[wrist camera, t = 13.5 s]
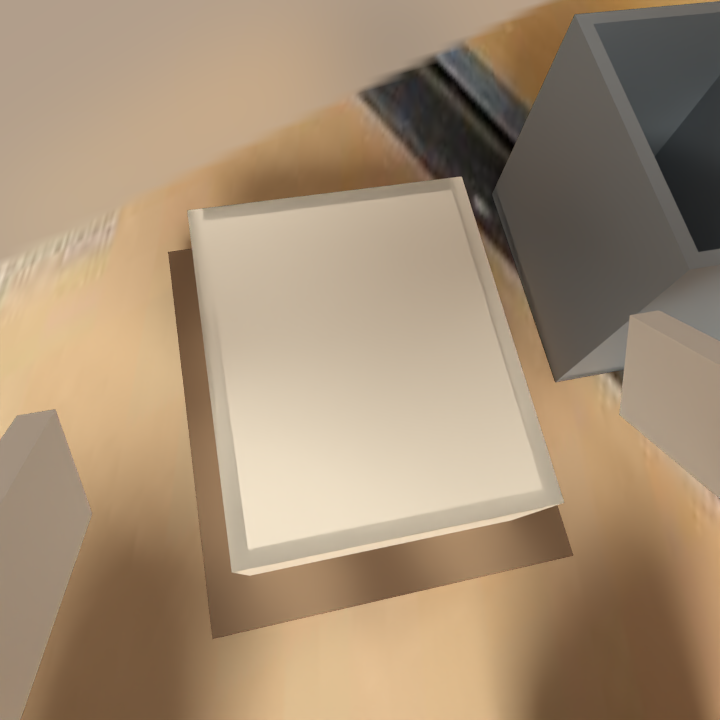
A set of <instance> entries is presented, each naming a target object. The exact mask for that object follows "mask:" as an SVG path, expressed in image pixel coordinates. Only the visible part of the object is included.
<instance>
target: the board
mask: <svg viewBox="0 0 720 720" xmlns="http://www.w3.org/2000/svg"><path fill="white" fill-rule="evenodd" d="M168 254H169V263H170V271H171V280H172V289H173V298H174V306H175V315H176V324H177V333H178V341H179V350H180V359H181V367H182V376H183V385H184V394H185V402H186V411H187V420H188V429H189V437H190V446H191V455H192V463H193V472H194V481H195V490H196V498H197V507H198V516H199V525H200V533H201V542H202V551H203V559H204V568H205V577H206V586H207V594H208V603H209V612H210V621H211V629H212V638H213V639H214V638H219V637H223V636H227V635H232V634H236V633H240V632H245V631H249V630H253V629H258V628H262V627H266V626H271V625H275V624H279V623H284V622H288V621H292V620H297V619H301V618H305V617H310V616H314V615H318V614H323V613H327V612H331V611H335V610H340V609H344V608H348V607H353V606H357V605H361V604H366V603H370V602H374V601H379V600H383V599H387V598H392V597H396V596H400V595H405V594H409V593H413V592H418V591H422V590H426V589H431V588H435V587H439V586H444V585H448V584H452V583H457V582H461V581H465V580H470V579H474V578H478V577H483V576H487V575H491V574H496V573H500V572H504V571H509V570H513V569H517V568H522V567H526V566H530V565H535V564H539V563H543V562H548V561H552V560H556V559H560V558H565V557H569V556H573V553H572V550H571V547H570V544H569V541H568V537H567V534H566V531H565V528H564V525H563V522H562V518H561V515H560V512H559V509H558V506H557V505H556V506H553V507H550V508H547V509H544V510H541V511H538V512H535V513H532V514H529V515H526V516H523V517H520V518H517V519H514V520H511V521H506V522H501V523H497V524H492V525H487V526H482V527H478V528H473V529H468V530H464V531H459V532H454V533H449V534H445V535H440V536H435V537H430V538H426V539H421V540H416V541H412V542H407V543H402V544H397V545H393V546H388V547H383V548H378V549H374V550H369V551H364V552H360V553H355V554H350V555H345V556H341V557H336V558H331V559H326V560H322V561H317V562H312V563H308V564H303V565H298V566H293V567H289V568H284V569H279V570H274V571H270V572H265V573H260V574H256V575H251V576H249V575H243V574H237V573H232V570H231V562H230V554H229V545H228V537H227V529H226V521H225V513H224V505H223V497H222V489H221V480H220V472H219V464H218V456H217V448H216V440H215V432H214V424H213V416H212V407H211V399H210V391H209V383H208V375H207V367H206V359H205V351H204V342H203V334H202V326H201V318H200V310H199V302H198V294H197V286H196V277H195V269H194V261H193V253H192V249H187V250H179V251H172V252H168Z"/></svg>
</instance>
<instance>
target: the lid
mask: <svg viewBox="0 0 720 720" xmlns="http://www.w3.org/2000/svg"><path fill="white" fill-rule="evenodd" d="M187 212H188V221H189V229H190V237H191V245H192V253H193V261H194V269H195V277H196V286H197V294H198V302H199V310H200V318H201V326H202V334H203V342H204V351H205V359H206V367H207V375H208V383H209V391H210V399H211V407H212V416H213V424H214V432H215V440H216V448H217V456H218V464H219V472H220V480H221V489H222V497H223V505H224V513H225V521H226V529H227V537H228V545H229V554H230V562H231V570H232V573H237V574H243V575H249V576H251V575H256V574H260V573H265V572H270V571H274V570H279V569H284V568H289V567H293V566H298V565H303V564H308V563H312V562H317V561H322V560H326V559H331V558H336V557H341V556H345V555H350V554H355V553H360V552H364V551H369V550H374V549H378V548H383V547H388V546H393V545H397V544H402V543H407V542H412V541H416V540H421V539H426V538H430V537H435V536H440V535H445V534H449V533H454V532H459V531H464V530H468V529H473V528H478V527H482V526H487V525H492V524H497V523H501V522H506V521H511V520H514V519H517V518H520V517H523V516H526V515H529V514H532V513H535V512H538V511H541V510H544V509H547V508H550V507H553V506H556V505H559V504H562V503H564V500H563V497H562V494H561V491H560V487H559V484H558V481H557V478H556V475H555V471H554V468H553V465H552V462H551V459H550V456H549V452H548V449H547V446H546V443H545V440H544V437H543V433H542V430H541V427H540V424H539V421H538V417H537V414H536V411H535V408H534V405H533V402H532V398H531V395H530V392H529V389H528V386H527V382H526V379H525V376H524V373H523V370H522V367H521V363H520V360H519V357H518V354H517V351H516V348H515V344H514V341H513V338H512V335H511V332H510V328H509V325H508V322H507V319H506V316H505V313H504V309H503V306H502V303H501V300H500V297H499V294H498V290H497V287H496V284H495V281H494V278H493V274H492V271H491V268H490V265H489V262H488V259H487V255H486V252H485V249H484V246H483V243H482V239H481V236H480V233H479V230H478V227H477V224H476V220H475V217H474V214H473V211H472V208H471V205H470V201H469V198H468V195H467V192H466V189H465V185H464V182H463V179H462V177H454V178H446V179H438V180H429V181H421V182H413V183H405V184H397V185H389V186H381V187H373V188H365V189H357V190H348V191H340V192H332V193H324V194H316V195H308V196H300V197H292V198H284V199H276V200H267V201H259V202H251V203H243V204H235V205H227V206H219V207H211V208H203V209H194V210H187Z"/></svg>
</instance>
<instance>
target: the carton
mask: <svg viewBox="0 0 720 720" xmlns="http://www.w3.org/2000/svg"><path fill="white" fill-rule="evenodd" d="M492 196H493V199H494V202H495V205H496V208H497V211H498V214H499V217H500V220H501V223H502V226H503V229H504V232H505V235H506V238H507V241H508V244H509V247H510V250H511V253H512V256H513V259H514V261H515V264H516V267H517V270H518V273H519V276H520V279H521V282H522V285H523V288H524V291H525V294H526V297H527V300H528V303H529V306H530V309H531V312H532V315H533V318H534V321H535V324H536V326H537V329H538V332H539V335H540V338H541V341H542V344H543V347H544V350H545V353H546V356H547V359H548V362H549V365H550V368H551V371H552V374H553V377H554V380H555V382H559V381H565V380H570V379H576V378H581V377H586V376H592V375H597V374H603V373H608V372H613V371H619V370H624V366H625V356H626V347H627V337H628V328H629V318H630V315H634V314H640V313H646V312H652V311H658V310H659V311H661V312H663V313H665V314H667V315H669V316H671V317H673V318H675V319H677V320H679V321H681V322H683V323H685V324H687V325H689V326H691V327H693V328H695V329H697V330H699V331H701V332H703V333H705V334H707V335H708V336H710V337H712V338H714V339H716V340H718V341H720V1H717V2H706V3H695V4H684V5H673V6H662V7H651V8H640V9H629V10H618V11H607V12H596V13H585V14H575V15H574V17H573V20H572V22H571V24H570V26H569V28H568V30H567V33H566V35H565V37H564V39H563V41H562V43H561V46H560V48H559V50H558V52H557V54H556V56H555V59H554V61H553V63H552V65H551V67H550V70H549V72H548V74H547V76H546V78H545V80H544V83H543V85H542V87H541V89H540V91H539V93H538V96H537V98H536V100H535V102H534V104H533V106H532V109H531V111H530V113H529V115H528V117H527V119H526V122H525V124H524V126H523V128H522V130H521V133H520V135H519V137H518V139H517V141H516V143H515V146H514V148H513V150H512V152H511V154H510V156H509V159H508V161H507V163H506V165H505V167H504V169H503V172H502V174H501V176H500V178H499V180H498V182H497V185H496V187H495V189H494V191H493V193H492Z"/></svg>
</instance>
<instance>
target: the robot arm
mask: <svg viewBox="0 0 720 720" xmlns="http://www.w3.org/2000/svg"><path fill="white" fill-rule="evenodd" d="M619 415H620V416H621V417H622V418H624V419H625V420H626V421H627V422H628V423H630V424H631V425H632V426H633V427H634V428H636V429H637V430H638V431H639V432H640V433H642V434H643V435H644V436H645V437H646V438H648V439H649V440H650V441H651V442H652V443H653V444H655V445H656V446H657V447H658V448H659V449H661V450H662V451H663V452H664V453H665V454H667V455H668V456H669V457H670V458H671V459H673V460H674V461H675V462H676V463H677V464H679V465H680V466H681V467H682V468H683V469H685V470H686V471H687V472H688V473H689V474H691V475H692V476H693V477H694V478H695V479H697V480H698V481H699V482H700V483H701V484H702V485H704V486H705V487H706V488H707V489H708V490H710V491H711V492H712V493H713V494H714V495H716V496H717V497H718V498H719V499H720V341H718V340H716V339H714V338H712V337H710V336H708V335H707V334H705V333H703V332H701V331H699V330H697V329H695V328H693V327H691V326H689V325H687V324H685V323H683V322H681V321H679V320H677V319H675V318H673V317H671V316H669V315H667V314H665V313H663V312H661V311H659V310H658V311H652V312H646V313H640V314H634V315H630V318H629V328H628V337H627V347H626V356H625V366H624V375H623V385H622V394H621V404H620V413H619ZM91 516H92V511H91V508H90V506H89V503H88V500H87V497H86V494H85V491H84V489H83V486H82V483H81V480H80V477H79V474H78V472H77V469H76V466H75V463H74V460H73V458H72V455H71V452H70V449H69V446H68V443H67V441H66V438H65V435H64V432H63V429H62V427H61V424H60V421H59V418H58V415H57V412H56V410H55V409H54V410H48V411H42V412H36V413H30V414H24V415H18V416H16V418H15V419H14V421H13V422H12V424H11V425H10V426H9V428H8V429H7V431H6V432H5V434H4V435H3V437H2V438H1V440H0V720H21V717H22V714H23V711H24V708H25V706H26V703H27V700H28V697H29V694H30V691H31V688H32V685H33V683H34V680H35V677H36V674H37V671H38V668H39V665H40V662H41V660H42V657H43V654H44V651H45V648H46V645H47V642H48V639H49V637H50V634H51V631H52V628H53V625H54V622H55V619H56V616H57V614H58V611H59V608H60V605H61V602H62V599H63V596H64V593H65V591H66V588H67V585H68V582H69V579H70V576H71V573H72V570H73V568H74V565H75V562H76V559H77V556H78V553H79V550H80V547H81V545H82V542H83V539H84V536H85V533H86V530H87V527H88V525H89V522H90V519H91Z"/></svg>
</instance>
